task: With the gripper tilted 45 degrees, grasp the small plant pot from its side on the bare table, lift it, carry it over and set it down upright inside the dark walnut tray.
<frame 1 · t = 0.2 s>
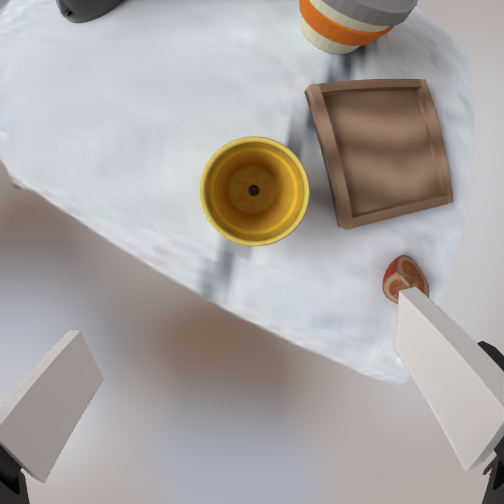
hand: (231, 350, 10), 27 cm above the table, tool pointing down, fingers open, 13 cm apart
reusable coffee cup: (331, 30, 29), on the table
plant pot: (252, 189, 35), on the table
walnut tray: (383, 147, 33), on the table
fruit slice: (396, 276, 38), on the table
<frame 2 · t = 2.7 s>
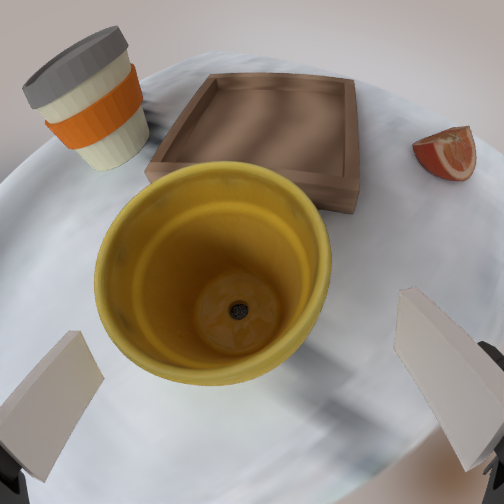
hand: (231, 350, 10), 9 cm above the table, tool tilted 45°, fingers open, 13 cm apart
reusable coffee cup: (119, 146, 31), on the table
plant pot: (239, 315, 20), on the table
walnut tray: (267, 133, 28), on the table
fruit slice: (438, 169, 24), on the table
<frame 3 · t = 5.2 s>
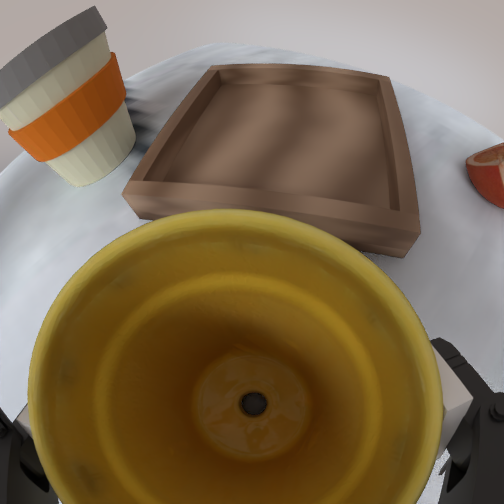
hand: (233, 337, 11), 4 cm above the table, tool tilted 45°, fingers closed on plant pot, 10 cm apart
reusable coffee cup: (100, 155, 25), on the table
plant pot: (253, 403, 13), on the table, touching gripper
walnut tray: (285, 140, 21), on the table
fruit slice: (490, 193, 17), on the table
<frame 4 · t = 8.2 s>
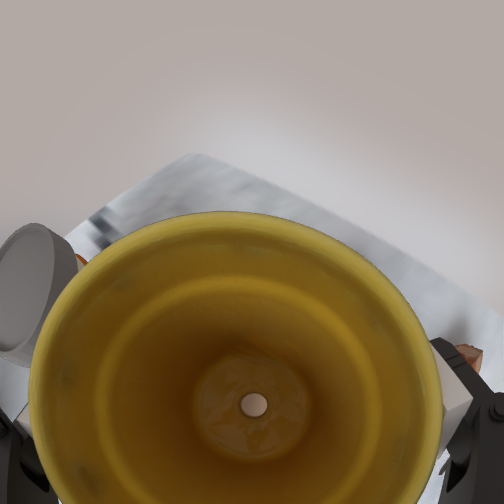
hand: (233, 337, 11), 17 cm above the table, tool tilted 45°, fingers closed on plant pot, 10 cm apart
reusable coffee cup: (104, 332, 29), on the table
plant pot: (254, 404, 13), point 13 cm above the table, touching gripper
walnut tray: (262, 358, 26), on the table
fruit slice: (435, 384, 22), on the table
when the fingers open (6 cm above the table, at t = 11.4 s): plant pot drops 1 cm, resting on walnut tray.
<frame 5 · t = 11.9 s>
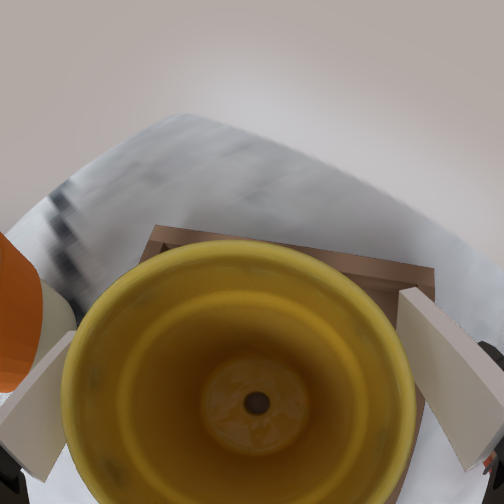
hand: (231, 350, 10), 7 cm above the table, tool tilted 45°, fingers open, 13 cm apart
reusable coffee cup: (46, 340, 19), on the table
plant pot: (257, 403, 14), point 1 cm above the table, touching walnut tray
walnut tray: (258, 401, 15), on the table
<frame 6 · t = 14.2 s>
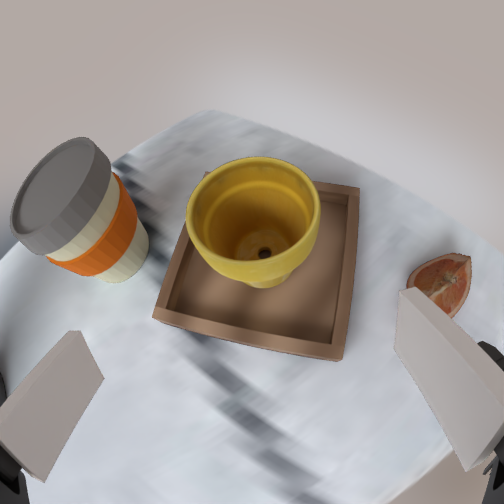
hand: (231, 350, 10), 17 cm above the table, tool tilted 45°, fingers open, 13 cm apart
reusable coffee cup: (120, 252, 34), on the table
plant pot: (264, 258, 30), point 1 cm above the table, touching walnut tray
walnut tray: (265, 261, 30), on the table
fruit slice: (430, 296, 26), on the table
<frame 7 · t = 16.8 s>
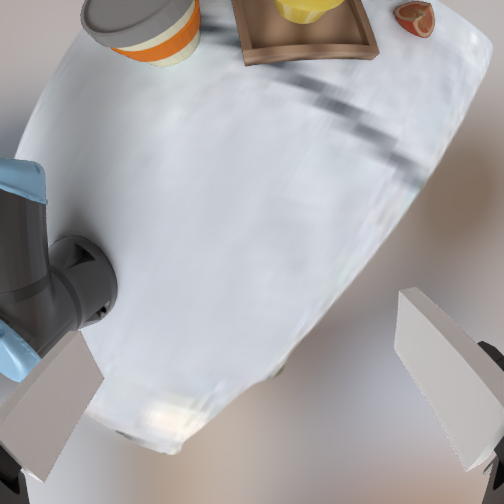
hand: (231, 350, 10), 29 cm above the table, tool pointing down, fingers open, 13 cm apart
reusable coffee cup: (170, 41, 30), on the table
plant pot: (298, 7, 27), point 1 cm above the table, touching walnut tray
walnut tray: (298, 10, 28), on the table
fruit slice: (409, 24, 27), on the table
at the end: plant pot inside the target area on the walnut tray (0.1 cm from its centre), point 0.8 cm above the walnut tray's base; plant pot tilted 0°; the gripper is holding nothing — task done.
